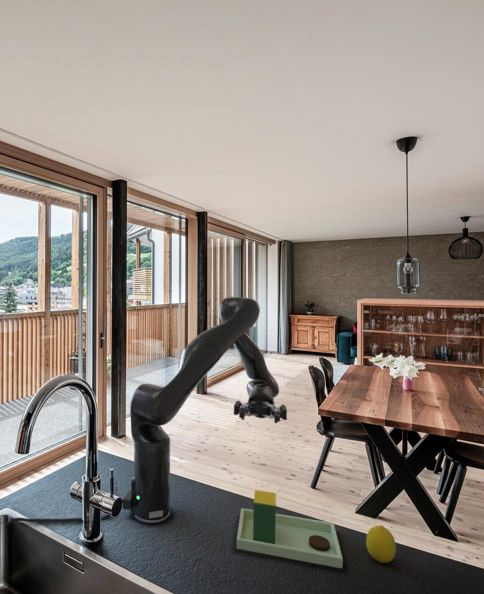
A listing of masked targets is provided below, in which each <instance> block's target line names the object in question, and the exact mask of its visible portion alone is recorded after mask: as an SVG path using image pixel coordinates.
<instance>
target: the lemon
mask: <svg viewBox="0 0 484 594" xmlns="http://www.w3.org/2000/svg"><path fill="white" fill-rule="evenodd" d="M365 544H366V549H367V552H368V553H369V556H371V557H372V558H373V559H374V560H375V561H376V562H379V563H381V564H383V563H384V564H385V563H390V562H391V561H393V559H394V558H395V556H396V552H397V546H396V545H397V544H396V540H395V537H394V535H393V534H392V532H391V531H390V530H389V529H388V528H386V527H385V526H383V525H375V526H371V528H369V529H368V531H367V535H366V538H365Z"/></svg>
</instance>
